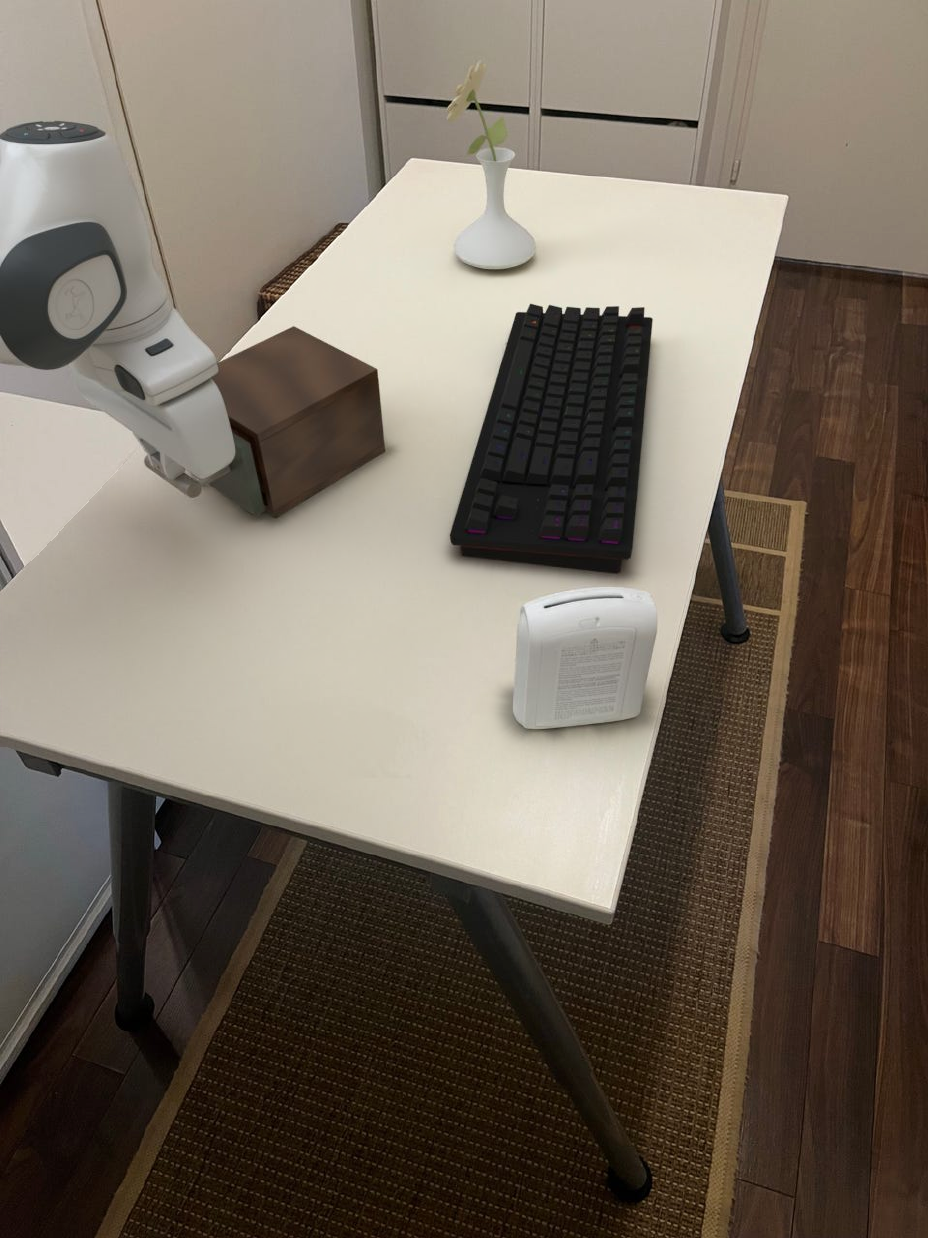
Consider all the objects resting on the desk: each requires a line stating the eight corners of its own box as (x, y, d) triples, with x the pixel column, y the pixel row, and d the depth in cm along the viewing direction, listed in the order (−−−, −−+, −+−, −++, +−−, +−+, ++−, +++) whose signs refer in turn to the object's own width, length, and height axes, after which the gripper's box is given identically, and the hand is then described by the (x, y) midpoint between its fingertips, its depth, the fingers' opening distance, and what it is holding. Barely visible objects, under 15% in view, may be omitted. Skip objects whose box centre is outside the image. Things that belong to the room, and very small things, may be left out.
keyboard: (515, 332, 114) (516, 293, 111) (649, 342, 112) (654, 303, 109) (449, 559, 86) (448, 517, 82) (627, 579, 83) (634, 537, 80)
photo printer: (633, 679, 75) (653, 567, 66) (647, 721, 72) (670, 609, 63) (508, 694, 74) (511, 582, 65) (517, 737, 71) (522, 626, 62)
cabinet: (275, 518, 90) (257, 434, 83) (197, 465, 96) (174, 382, 89) (385, 451, 97) (377, 368, 90) (306, 406, 104) (293, 325, 97)
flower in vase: (494, 233, 134) (495, 36, 116) (552, 258, 128) (563, 53, 110) (428, 263, 128) (418, 59, 110) (486, 290, 122) (486, 79, 104)
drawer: (212, 542, 86) (193, 474, 81) (142, 490, 92) (120, 423, 86) (360, 454, 96) (352, 387, 90) (288, 412, 101) (276, 346, 96)
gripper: (24, 309, 79) (79, 442, 89) (160, 397, 69) (205, 535, 79) (88, 281, 82) (135, 412, 92) (228, 362, 72) (263, 499, 82)
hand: (169, 470), depth 85 cm, fingers closed, pressing on drawer
